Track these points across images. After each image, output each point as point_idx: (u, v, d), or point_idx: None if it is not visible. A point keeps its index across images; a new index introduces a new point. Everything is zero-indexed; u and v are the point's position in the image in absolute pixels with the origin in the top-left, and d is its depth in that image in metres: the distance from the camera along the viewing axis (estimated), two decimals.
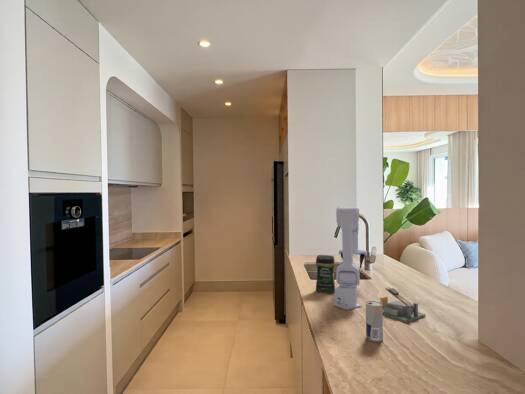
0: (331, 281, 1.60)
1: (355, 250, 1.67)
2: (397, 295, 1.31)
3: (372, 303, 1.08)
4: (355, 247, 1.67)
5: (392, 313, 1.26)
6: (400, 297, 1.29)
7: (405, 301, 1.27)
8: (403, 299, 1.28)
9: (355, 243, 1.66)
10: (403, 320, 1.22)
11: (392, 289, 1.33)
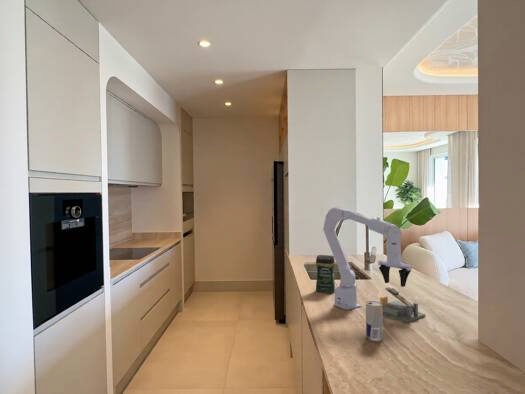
0: (331, 281, 1.60)
1: (394, 261, 1.33)
2: (397, 295, 1.31)
3: (372, 303, 1.08)
4: (394, 258, 1.33)
5: (392, 313, 1.26)
6: (400, 297, 1.29)
7: (405, 301, 1.27)
8: (403, 299, 1.28)
9: (388, 252, 1.35)
10: (403, 320, 1.22)
11: (392, 289, 1.33)
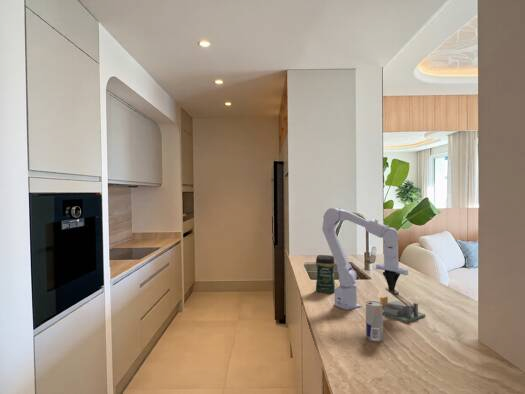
0: (331, 281, 1.60)
1: (390, 266, 1.31)
2: (397, 295, 1.31)
3: (372, 303, 1.08)
4: (390, 262, 1.31)
5: (392, 313, 1.26)
6: (400, 297, 1.29)
7: (405, 301, 1.27)
8: (403, 299, 1.28)
9: (385, 256, 1.33)
10: (403, 320, 1.22)
11: None
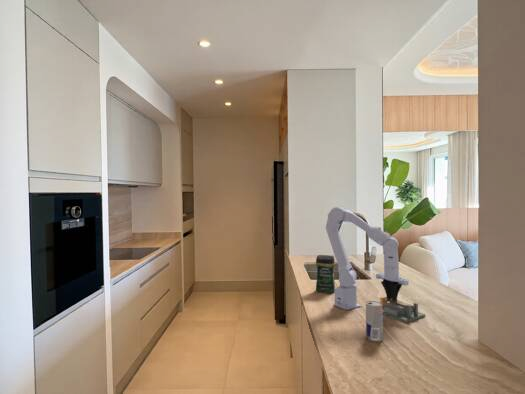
0: (331, 281, 1.60)
1: (391, 276, 1.31)
2: (396, 301, 1.31)
3: (372, 303, 1.08)
4: (391, 272, 1.31)
5: (392, 313, 1.26)
6: (399, 302, 1.30)
7: (404, 304, 1.28)
8: (402, 303, 1.29)
9: (385, 265, 1.33)
10: (403, 320, 1.22)
11: (390, 298, 1.34)
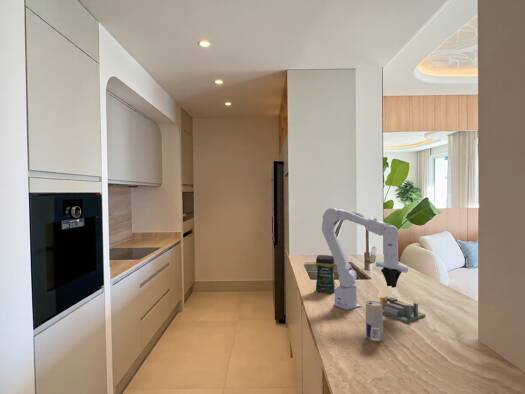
0: (331, 281, 1.60)
1: (390, 263, 1.31)
2: (396, 301, 1.31)
3: (372, 303, 1.08)
4: (390, 259, 1.31)
5: (392, 313, 1.26)
6: (399, 302, 1.30)
7: (404, 304, 1.28)
8: (402, 303, 1.29)
9: (384, 253, 1.33)
10: (403, 320, 1.22)
11: (390, 298, 1.34)
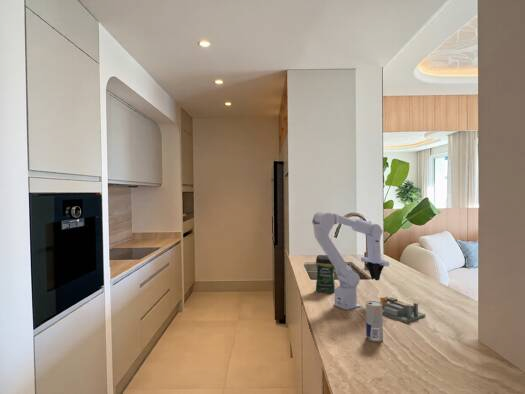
0: (331, 281, 1.60)
1: (373, 258, 1.43)
2: (396, 301, 1.31)
3: (372, 303, 1.08)
4: (373, 254, 1.43)
5: (392, 313, 1.26)
6: (399, 302, 1.30)
7: (404, 304, 1.28)
8: (402, 303, 1.29)
9: (371, 250, 1.43)
10: (403, 320, 1.22)
11: (390, 298, 1.34)
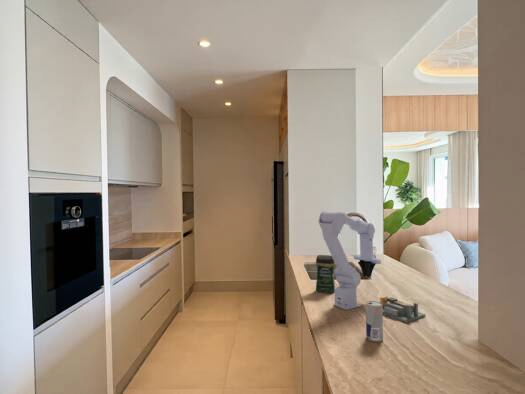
0: (331, 281, 1.60)
1: (365, 256, 1.48)
2: (396, 301, 1.31)
3: (372, 303, 1.08)
4: (365, 252, 1.48)
5: (392, 313, 1.26)
6: (399, 302, 1.30)
7: (404, 304, 1.28)
8: (402, 303, 1.29)
9: (366, 248, 1.48)
10: (403, 320, 1.22)
11: (390, 298, 1.34)
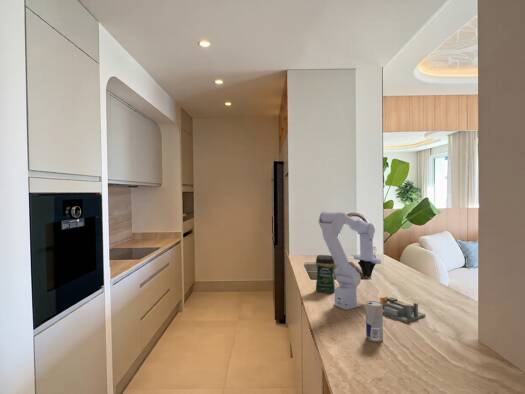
0: (331, 281, 1.60)
1: (365, 256, 1.48)
2: (396, 301, 1.31)
3: (372, 303, 1.08)
4: (365, 252, 1.48)
5: (392, 313, 1.26)
6: (399, 302, 1.30)
7: (404, 304, 1.28)
8: (402, 303, 1.29)
9: (366, 248, 1.48)
10: (403, 320, 1.22)
11: (390, 298, 1.34)
